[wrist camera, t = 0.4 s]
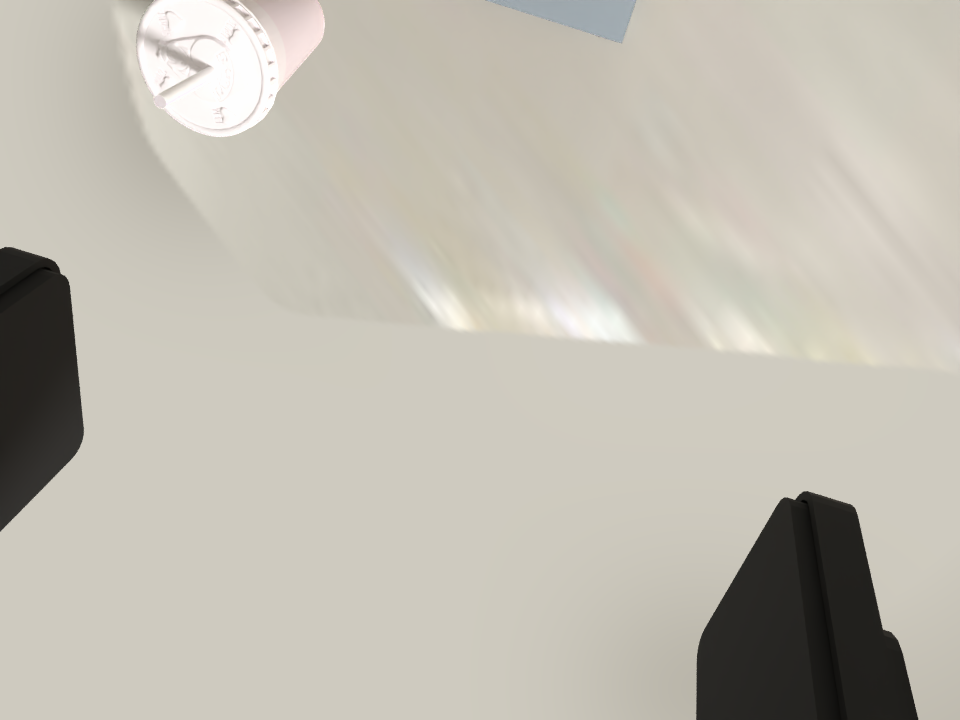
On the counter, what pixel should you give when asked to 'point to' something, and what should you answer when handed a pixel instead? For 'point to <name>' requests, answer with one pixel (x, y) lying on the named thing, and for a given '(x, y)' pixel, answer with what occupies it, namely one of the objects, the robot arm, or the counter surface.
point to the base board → (580, 14)
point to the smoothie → (224, 57)
